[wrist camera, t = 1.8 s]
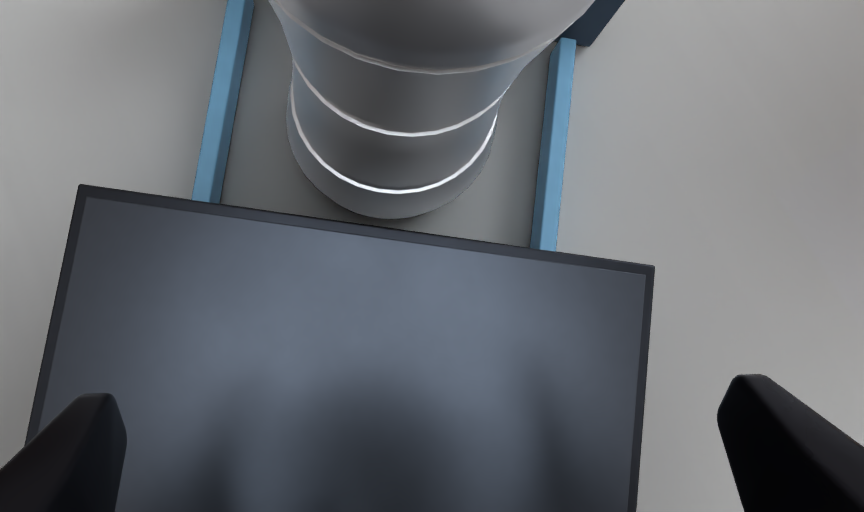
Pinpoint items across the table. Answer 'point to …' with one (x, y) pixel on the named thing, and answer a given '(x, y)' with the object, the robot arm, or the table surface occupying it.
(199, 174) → the pull-out drawer
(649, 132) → the table surface
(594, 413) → the black drawer housing
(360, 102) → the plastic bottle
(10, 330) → the table surface
